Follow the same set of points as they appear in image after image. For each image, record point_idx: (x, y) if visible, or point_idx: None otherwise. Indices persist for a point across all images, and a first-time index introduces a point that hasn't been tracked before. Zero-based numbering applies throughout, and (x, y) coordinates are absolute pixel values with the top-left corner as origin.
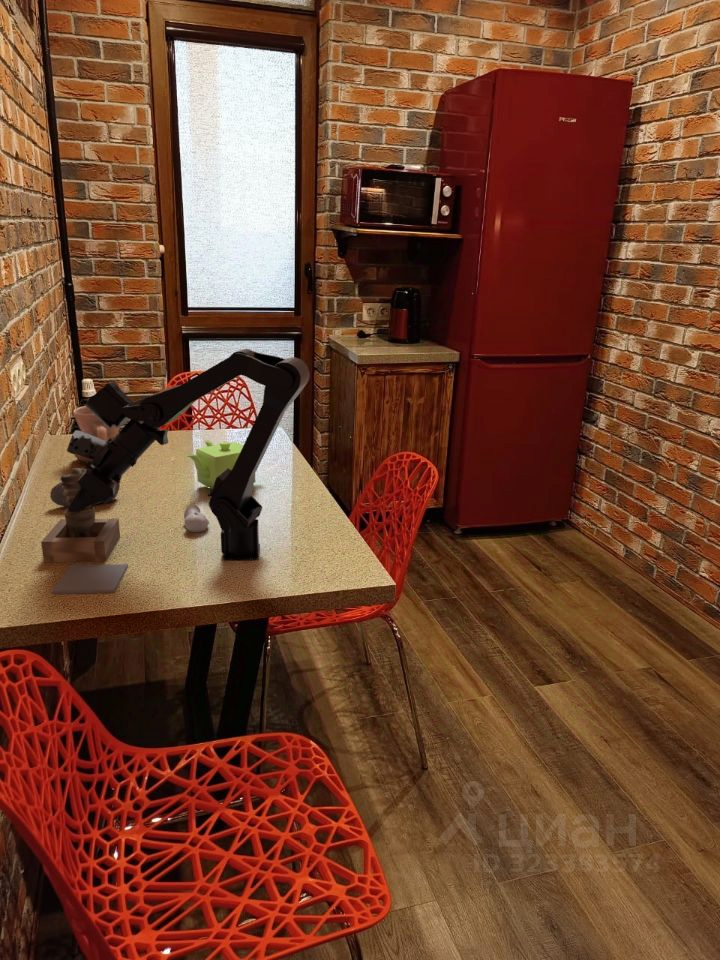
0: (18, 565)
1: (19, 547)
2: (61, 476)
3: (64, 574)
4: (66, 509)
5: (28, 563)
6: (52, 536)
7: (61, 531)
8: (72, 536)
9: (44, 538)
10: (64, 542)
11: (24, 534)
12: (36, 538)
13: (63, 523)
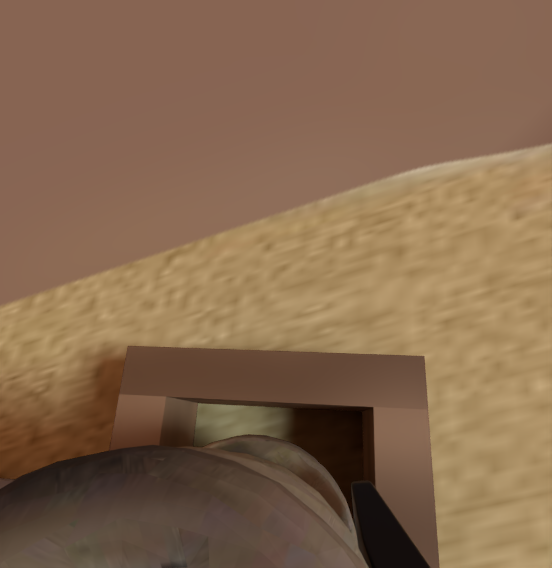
0: (156, 283)
1: (313, 236)
2: (74, 476)
3: (4, 483)
4: (246, 449)
5: (166, 310)
6: (185, 380)
7: (269, 402)
8: (365, 427)
9: (164, 349)
10: None
11: (439, 212)
12: (399, 266)
13: (361, 388)
